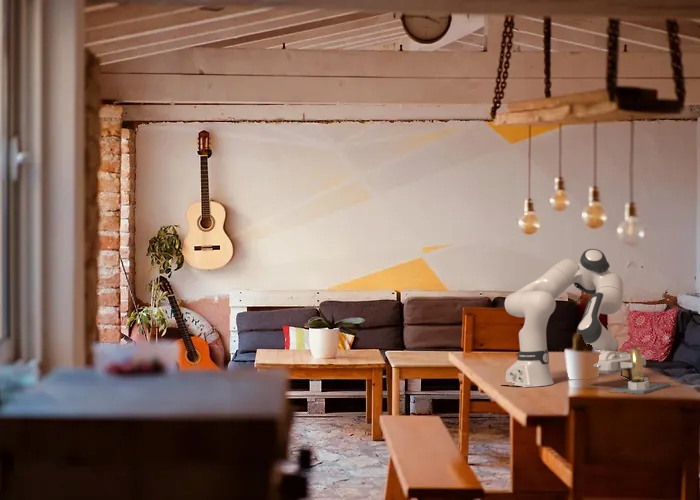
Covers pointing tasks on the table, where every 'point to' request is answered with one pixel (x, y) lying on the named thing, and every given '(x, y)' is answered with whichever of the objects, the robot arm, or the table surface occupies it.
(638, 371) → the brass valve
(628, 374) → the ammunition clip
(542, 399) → the table surface
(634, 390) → the coupling board
